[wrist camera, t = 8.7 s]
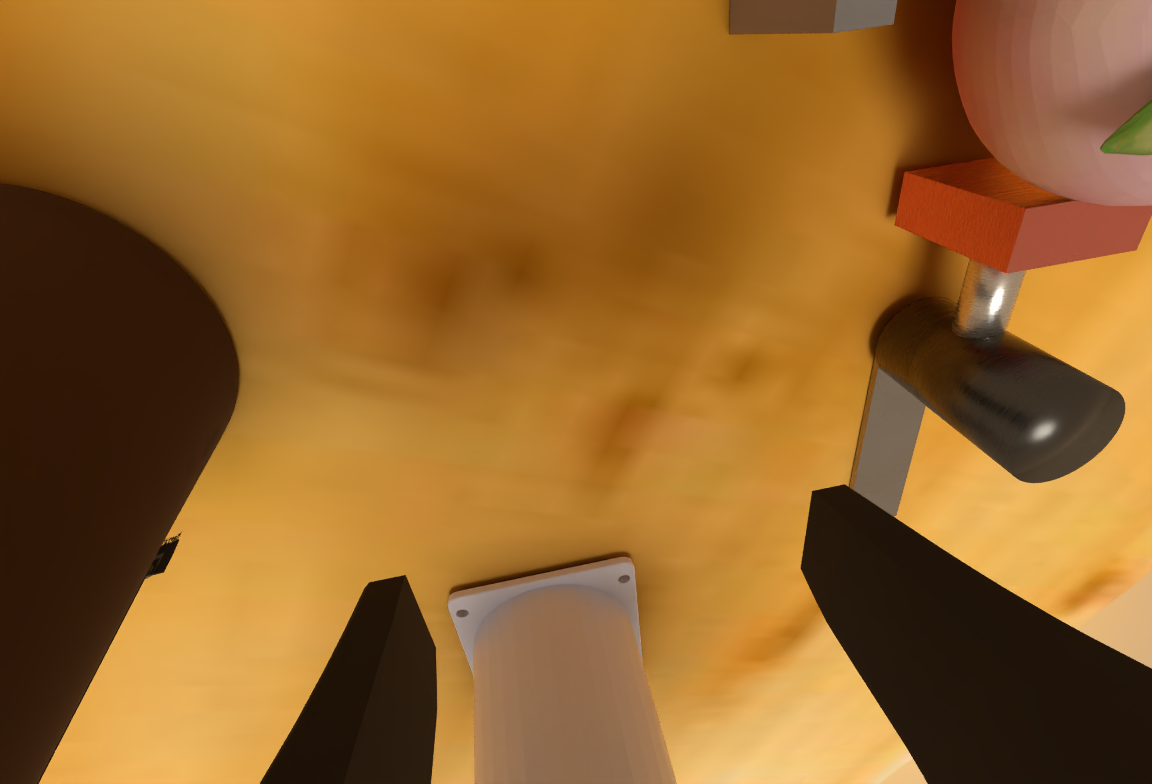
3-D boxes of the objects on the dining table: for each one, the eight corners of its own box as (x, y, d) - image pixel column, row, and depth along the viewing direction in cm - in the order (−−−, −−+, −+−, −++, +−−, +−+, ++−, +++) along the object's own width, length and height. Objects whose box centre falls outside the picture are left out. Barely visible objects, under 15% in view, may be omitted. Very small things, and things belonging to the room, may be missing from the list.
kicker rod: (954, 368, 21) (1104, 469, 16) (863, 385, 21) (988, 494, 16) (1015, 153, 17) (1240, 201, 12) (904, 171, 17) (1088, 228, 12)
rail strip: (892, 510, 26) (896, 515, 26) (842, 521, 26) (846, 526, 26) (937, 335, 21) (943, 339, 21) (876, 347, 21) (881, 351, 21)
